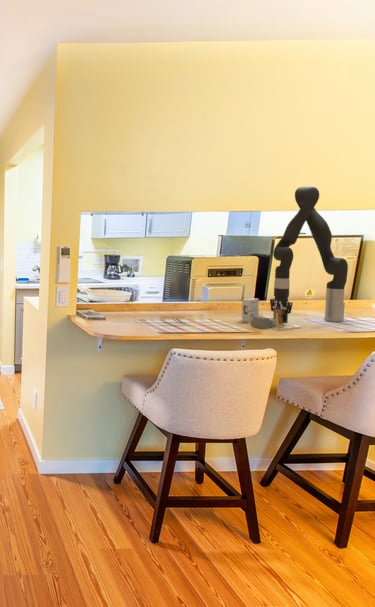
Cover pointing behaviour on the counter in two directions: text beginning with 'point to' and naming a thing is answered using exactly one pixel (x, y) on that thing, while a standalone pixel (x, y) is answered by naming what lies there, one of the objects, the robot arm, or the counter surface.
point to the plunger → (274, 322)
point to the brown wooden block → (279, 315)
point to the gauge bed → (264, 324)
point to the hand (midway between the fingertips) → (280, 320)
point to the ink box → (249, 309)
